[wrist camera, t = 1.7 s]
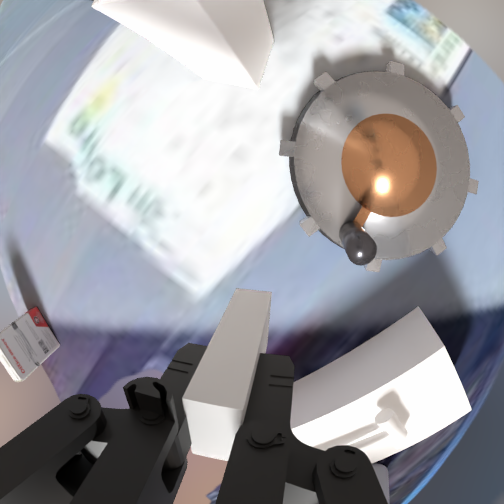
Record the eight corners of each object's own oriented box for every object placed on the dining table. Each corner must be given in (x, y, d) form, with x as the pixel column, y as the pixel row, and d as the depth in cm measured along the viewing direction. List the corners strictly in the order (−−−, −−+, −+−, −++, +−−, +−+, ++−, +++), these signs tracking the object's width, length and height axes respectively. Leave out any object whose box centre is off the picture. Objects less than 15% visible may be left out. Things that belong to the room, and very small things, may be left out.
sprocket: (341, 35, 21) (351, 5, 15) (490, 144, 22) (527, 145, 15) (250, 199, 28) (235, 212, 22) (407, 292, 28) (429, 324, 22)
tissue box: (451, 370, 32) (477, 422, 22) (313, 442, 40) (310, 496, 30) (417, 304, 30) (453, 360, 20) (258, 398, 38) (244, 458, 28)
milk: (274, 41, 24) (227, -120, 3) (258, 91, 26) (168, -40, 5) (218, 32, 24) (108, -97, 3) (202, 80, 26) (49, -13, 5)
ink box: (27, 311, 42) (-14, 340, 31) (37, 305, 41) (-7, 336, 30) (50, 349, 44) (13, 383, 33) (61, 346, 42) (22, 382, 31)
